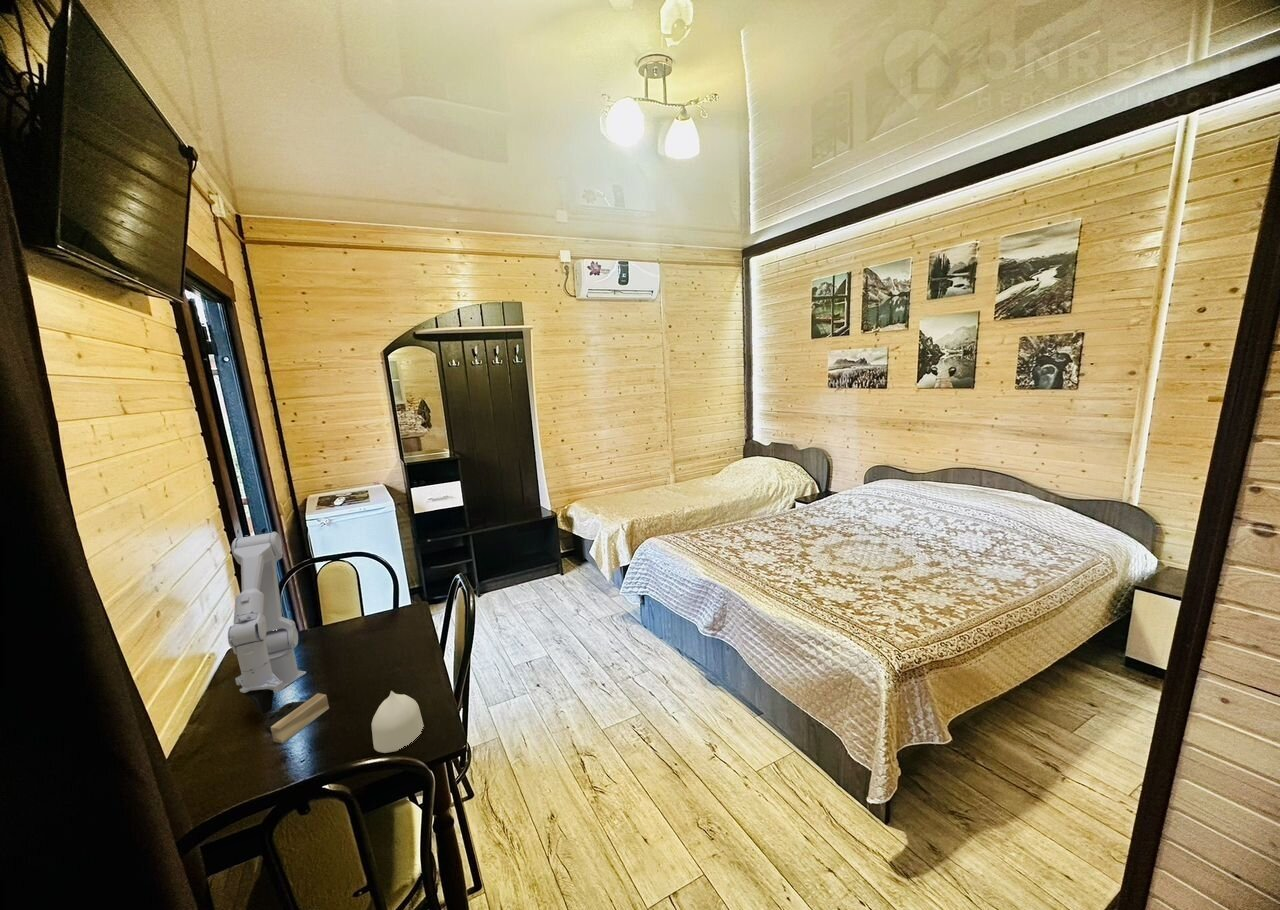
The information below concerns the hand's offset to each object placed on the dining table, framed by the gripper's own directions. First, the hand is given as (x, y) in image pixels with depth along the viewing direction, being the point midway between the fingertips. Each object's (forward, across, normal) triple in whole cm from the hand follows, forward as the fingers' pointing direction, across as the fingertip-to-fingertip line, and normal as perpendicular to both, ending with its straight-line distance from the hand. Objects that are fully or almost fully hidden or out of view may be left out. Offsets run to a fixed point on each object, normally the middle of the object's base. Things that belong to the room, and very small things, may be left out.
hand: (266, 711), depth 119 cm
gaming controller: (+2, +7, 0) cm, 7 cm away
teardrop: (+2, +40, +3) cm, 40 cm away
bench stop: (+1, +12, 0) cm, 13 cm away
